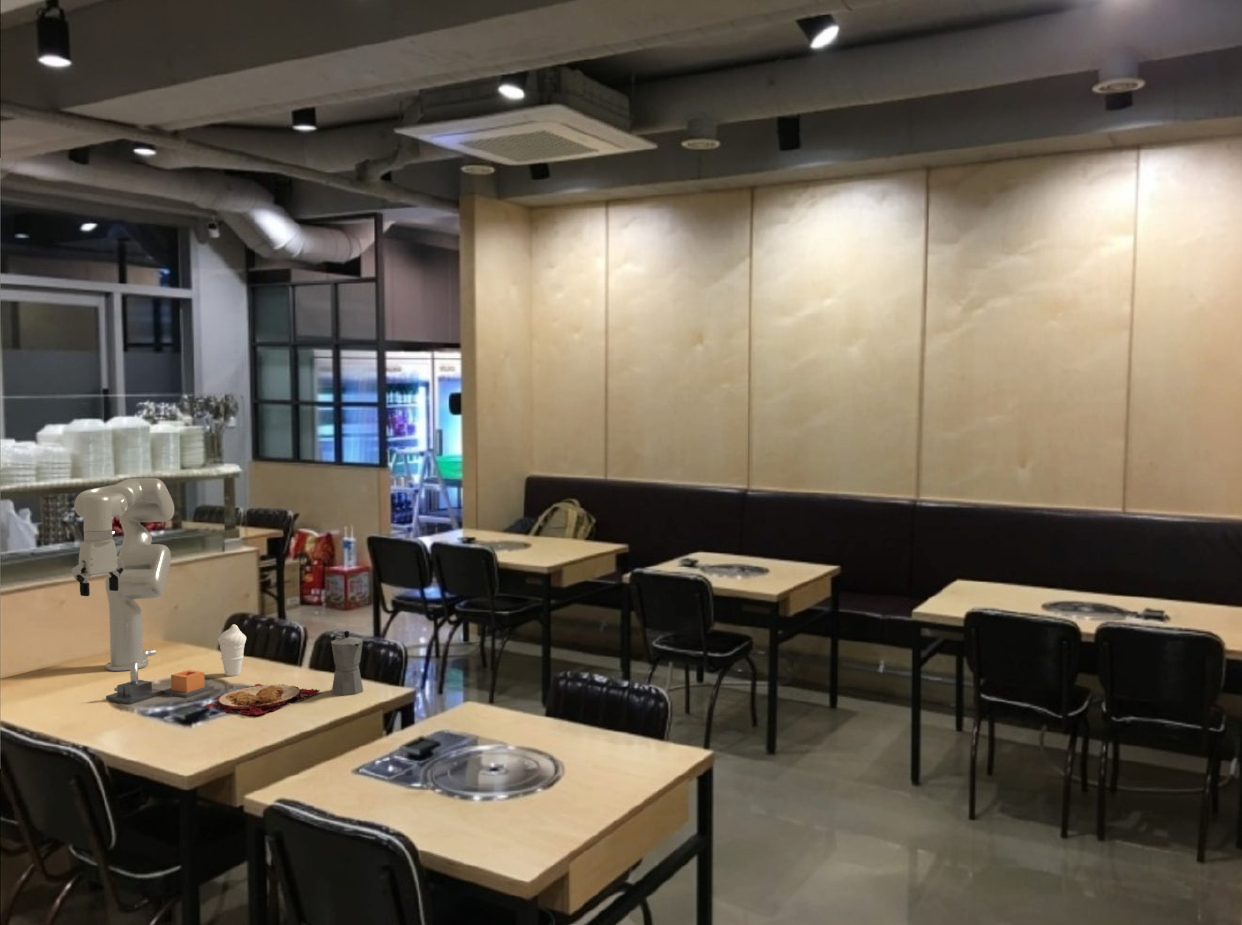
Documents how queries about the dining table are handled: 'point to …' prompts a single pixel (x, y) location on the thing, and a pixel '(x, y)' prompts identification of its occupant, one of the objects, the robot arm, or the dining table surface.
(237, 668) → the soft serve ice cream cone
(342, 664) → the coffeepot
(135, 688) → the grey peg stand
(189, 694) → the mat
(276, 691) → the plate with food
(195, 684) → the orange square tube
